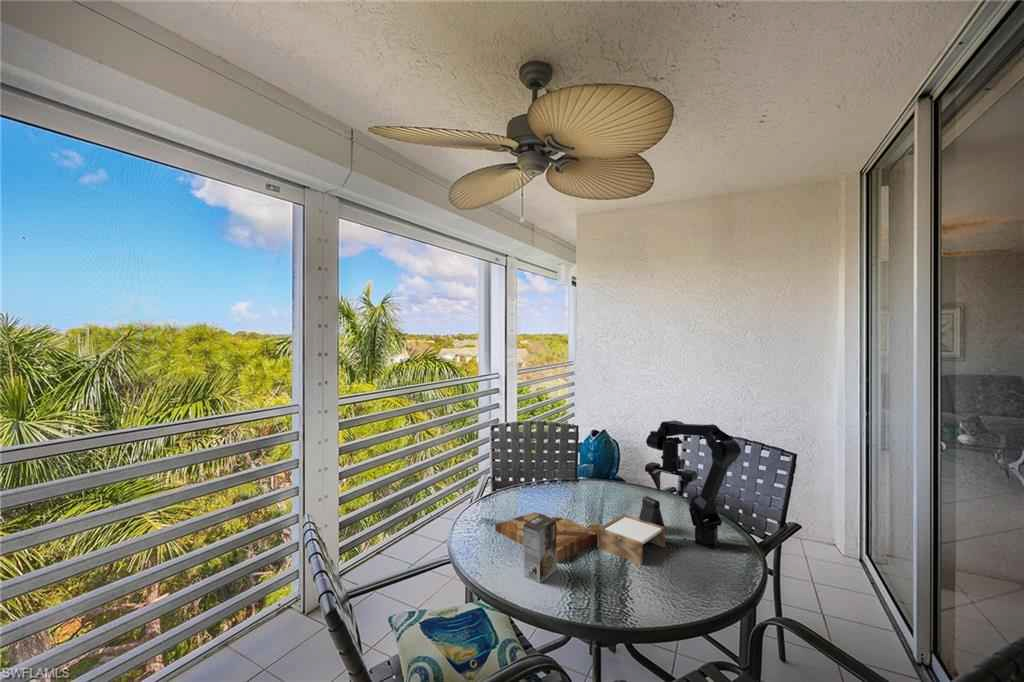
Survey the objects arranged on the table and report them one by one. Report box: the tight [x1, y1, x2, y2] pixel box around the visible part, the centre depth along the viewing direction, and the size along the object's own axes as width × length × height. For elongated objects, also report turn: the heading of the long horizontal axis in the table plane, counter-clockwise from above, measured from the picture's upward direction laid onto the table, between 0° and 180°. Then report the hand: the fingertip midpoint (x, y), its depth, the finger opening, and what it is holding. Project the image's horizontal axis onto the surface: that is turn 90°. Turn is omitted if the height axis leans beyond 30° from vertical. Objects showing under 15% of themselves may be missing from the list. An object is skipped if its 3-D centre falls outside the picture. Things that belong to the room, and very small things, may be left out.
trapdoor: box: [604, 517, 662, 546], centre depth 150 cm, size 14×14×3 cm
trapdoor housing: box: [596, 514, 666, 566], centre depth 151 cm, size 16×18×6 cm
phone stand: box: [638, 495, 667, 532], centre depth 164 cm, size 9×6×12 cm, turn 117°
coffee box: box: [523, 514, 558, 584], centre depth 134 cm, size 9×6×16 cm
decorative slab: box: [495, 511, 598, 564], centre depth 159 cm, size 32×22×5 cm
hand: (670, 493), depth 169 cm, fingers open, 9 cm apart
